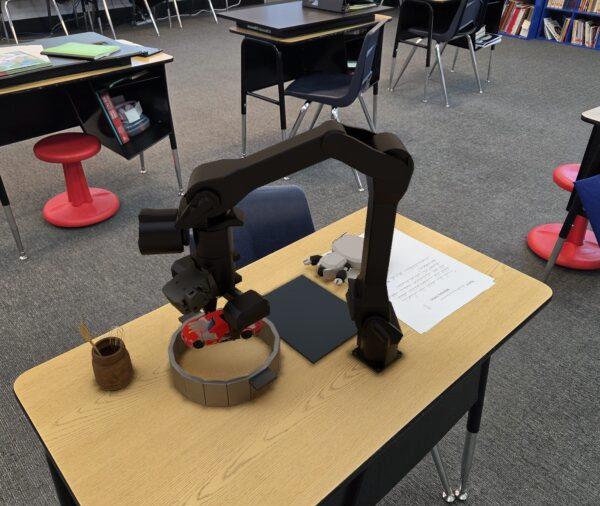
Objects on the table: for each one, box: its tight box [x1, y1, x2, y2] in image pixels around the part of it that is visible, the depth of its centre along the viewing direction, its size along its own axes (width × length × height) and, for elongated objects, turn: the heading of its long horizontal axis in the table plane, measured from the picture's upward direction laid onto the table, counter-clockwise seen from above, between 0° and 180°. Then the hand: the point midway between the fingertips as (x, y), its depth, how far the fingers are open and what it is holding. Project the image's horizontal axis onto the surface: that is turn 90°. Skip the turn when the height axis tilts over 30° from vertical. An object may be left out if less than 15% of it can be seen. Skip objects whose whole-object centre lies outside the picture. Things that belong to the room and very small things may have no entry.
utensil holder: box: [78, 321, 134, 391], centre depth 87 cm, size 6×6×12 cm
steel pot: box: [167, 307, 281, 408], centre depth 91 cm, size 22×18×5 cm
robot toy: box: [302, 229, 364, 286], centre depth 116 cm, size 12×4×15 cm
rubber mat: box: [262, 274, 357, 364], centre depth 103 cm, size 20×16×1 cm
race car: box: [181, 309, 264, 350], centre depth 88 cm, size 13×5×4 cm, turn 106°
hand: (222, 329), depth 88 cm, fingers closed on race car, 6 cm apart
